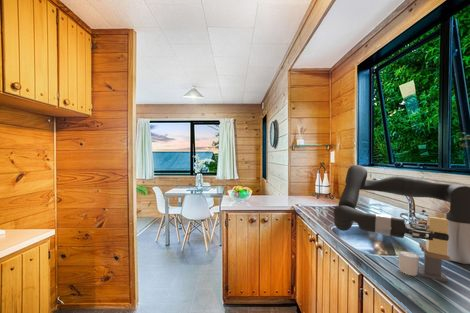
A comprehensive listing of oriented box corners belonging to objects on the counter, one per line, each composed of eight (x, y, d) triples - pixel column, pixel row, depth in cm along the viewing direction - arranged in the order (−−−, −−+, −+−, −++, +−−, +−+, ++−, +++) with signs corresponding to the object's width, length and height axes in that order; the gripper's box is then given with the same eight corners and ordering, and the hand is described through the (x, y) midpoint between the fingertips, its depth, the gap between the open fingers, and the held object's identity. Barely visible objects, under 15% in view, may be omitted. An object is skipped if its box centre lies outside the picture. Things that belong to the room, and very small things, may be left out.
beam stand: (447, 281, 88) (448, 258, 88) (419, 275, 92) (420, 253, 92) (444, 276, 92) (445, 254, 92) (418, 270, 96) (418, 249, 96)
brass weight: (446, 255, 82) (448, 220, 83) (428, 252, 85) (429, 217, 86) (443, 252, 87) (444, 218, 88) (426, 249, 89) (427, 216, 90)
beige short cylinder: (394, 266, 99) (395, 249, 99) (414, 269, 97) (415, 252, 97) (401, 274, 92) (401, 256, 92) (422, 277, 90) (423, 258, 90)
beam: (451, 261, 82) (451, 256, 82) (425, 256, 85) (425, 252, 85) (439, 249, 99) (439, 245, 99) (418, 245, 102) (418, 242, 102)
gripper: (388, 230, 100) (441, 240, 91) (389, 240, 88) (450, 252, 79) (389, 212, 100) (442, 220, 91) (390, 220, 88) (452, 229, 79)
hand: (446, 235), depth 85 cm, fingers closed on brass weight, 5 cm apart
